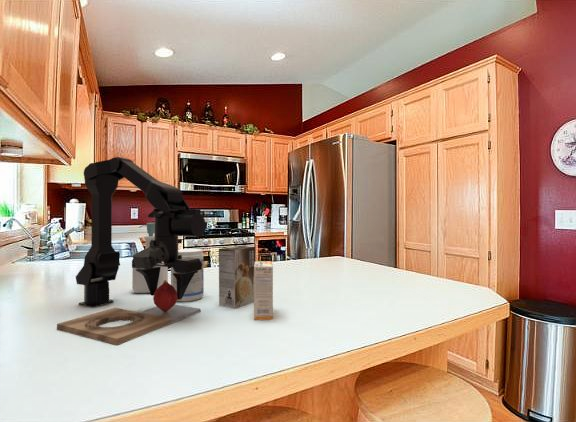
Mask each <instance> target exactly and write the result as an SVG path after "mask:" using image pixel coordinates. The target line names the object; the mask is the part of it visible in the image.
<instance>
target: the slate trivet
mask: <svg viewBox="0 0 576 422" xmlns="http://www.w3.org/2000/svg"><path fill="white" fill-rule="evenodd" d="M201 311H202V309H201V308H199V307H198V308H197V307H192V306H186V305H180V304H175V305H174V306H173V307H172V308H171V309H169V310H168V311H167V312H163V311H162V310H160V309H159V308H158V307H157V306H154V307H151V308H147V309H144V310H141V311H140V312H141V313H147V314H152V315H157V316H163V317H168V318H172V323H171V324H174V323H176V322H179V321H181V320H184V319H186V318H188V317H191V316H194V315H196V314H198V313H201Z"/></svg>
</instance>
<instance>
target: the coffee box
mask: <svg viewBox="0 0 576 422" xmlns="http://www.w3.org/2000/svg"><path fill="white" fill-rule="evenodd" d="M255 262H256V247H255V246H248V245H247V246H243V245H238V246H230V247H222V248H218V306H221V307H226V308H231V309H238V308H240V307H243V306H246V305H248V304H251V303H254V264H255Z"/></svg>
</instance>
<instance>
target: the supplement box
mask: <svg viewBox="0 0 576 422" xmlns="http://www.w3.org/2000/svg"><path fill="white" fill-rule="evenodd" d="M273 298H274V266H273V262H272V261H271V260H270V261H267V260H266V261H265V260H263V261H261V260H260V261H259V260H258V261H256V260H255V264H254V302H253V312H254V313H253V314H254V316H253V317H254V320H255V321H256V320H257V321H259V320H260V321H262V320H273V319H274V299H273Z"/></svg>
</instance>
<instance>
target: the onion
mask: <svg viewBox="0 0 576 422" xmlns="http://www.w3.org/2000/svg"><path fill="white" fill-rule="evenodd" d="M152 300H153V304H154V306H155V307H158V308H159V309H160V310H162V311H163V312H167V311H168V310H169V309H171V308H172V307H173V306H174V305H177V302H178V301H177V300H178V298H177V291H176V290H175V288H174V287H173V286H172V285H171V283H169V281H168V282H167V281H166V280H164V282H163V284H162V285H161V286H160V287H158V288H157V290H156V291H155V293H154V295H153V298H152Z"/></svg>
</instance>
